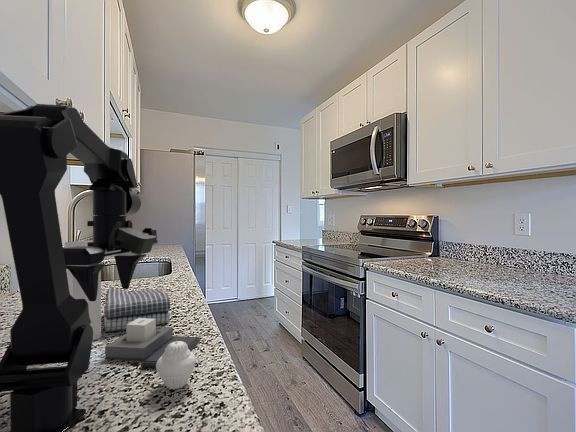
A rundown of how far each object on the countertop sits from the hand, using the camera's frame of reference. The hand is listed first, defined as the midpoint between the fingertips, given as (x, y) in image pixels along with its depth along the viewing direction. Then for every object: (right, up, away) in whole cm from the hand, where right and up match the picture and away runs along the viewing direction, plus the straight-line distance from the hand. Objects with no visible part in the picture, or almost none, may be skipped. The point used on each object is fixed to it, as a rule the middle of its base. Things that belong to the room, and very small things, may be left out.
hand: (110, 294), depth 60 cm
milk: (-11, -12, +7) cm, 18 cm away
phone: (+12, -12, +1) cm, 17 cm away
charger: (+4, -12, +3) cm, 13 cm away
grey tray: (+4, -12, +3) cm, 13 cm away
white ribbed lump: (+17, -12, -10) cm, 23 cm away
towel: (-6, -13, +21) cm, 25 cm away
